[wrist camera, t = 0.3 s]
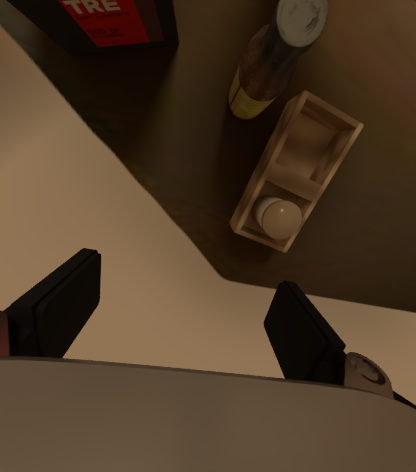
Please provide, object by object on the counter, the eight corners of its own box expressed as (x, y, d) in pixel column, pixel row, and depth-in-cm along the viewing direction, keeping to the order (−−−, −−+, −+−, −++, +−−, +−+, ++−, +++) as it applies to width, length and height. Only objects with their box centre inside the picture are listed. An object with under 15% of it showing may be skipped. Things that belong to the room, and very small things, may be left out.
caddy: (287, 101, 34) (305, 89, 29) (338, 130, 36) (364, 125, 31) (229, 223, 41) (234, 232, 36) (274, 241, 43) (285, 253, 38)
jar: (260, 188, 38) (275, 194, 31) (287, 201, 39) (309, 210, 32) (244, 218, 40) (256, 231, 33) (271, 229, 41) (288, 244, 34)
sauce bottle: (267, 112, 34) (351, 54, 16) (233, 127, 35) (276, 87, 16) (256, 69, 32) (340, -59, 14) (220, 85, 33) (254, -16, 14)
